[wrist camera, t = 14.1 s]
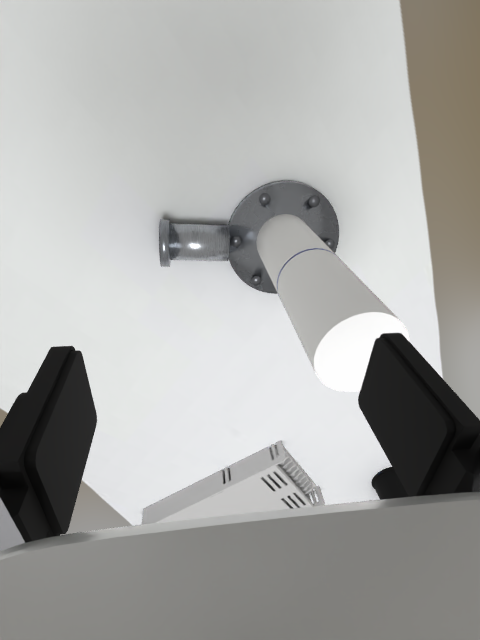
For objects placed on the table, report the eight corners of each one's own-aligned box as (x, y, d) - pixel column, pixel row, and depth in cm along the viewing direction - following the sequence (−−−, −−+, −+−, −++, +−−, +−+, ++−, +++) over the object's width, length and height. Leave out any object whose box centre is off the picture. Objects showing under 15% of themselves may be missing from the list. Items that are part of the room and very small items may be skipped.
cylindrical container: (286, 202, 45) (377, 292, 24) (320, 240, 48) (426, 351, 27) (245, 241, 47) (293, 358, 26) (279, 276, 50) (348, 405, 29)
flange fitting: (346, 183, 46) (365, 193, 41) (324, 290, 53) (337, 308, 49) (159, 173, 42) (156, 182, 38) (164, 288, 50) (162, 308, 45)
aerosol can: (363, 483, 80) (411, 586, 64) (391, 462, 78) (448, 563, 61) (387, 493, 84) (438, 593, 67) (414, 473, 81) (475, 571, 64)
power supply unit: (318, 483, 79) (325, 505, 75) (193, 541, 85) (194, 564, 81) (279, 437, 70) (285, 459, 66) (142, 506, 76) (140, 530, 71)
